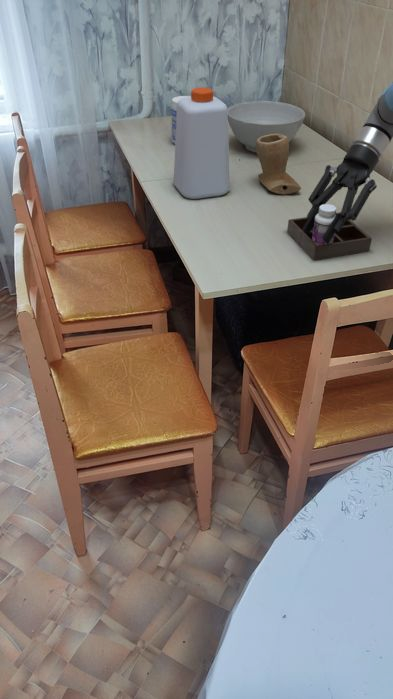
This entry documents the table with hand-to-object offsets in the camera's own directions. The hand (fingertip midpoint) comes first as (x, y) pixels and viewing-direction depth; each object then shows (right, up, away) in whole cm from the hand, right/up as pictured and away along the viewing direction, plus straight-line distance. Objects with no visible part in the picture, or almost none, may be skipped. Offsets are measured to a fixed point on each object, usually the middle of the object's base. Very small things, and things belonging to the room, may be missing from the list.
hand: (314, 236), depth 131 cm
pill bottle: (+3, -1, +4) cm, 5 cm away
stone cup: (-5, +23, +36) cm, 42 cm away
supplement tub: (-33, +48, +66) cm, 88 cm away
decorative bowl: (-5, +45, +62) cm, 77 cm away
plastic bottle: (-27, +21, +34) cm, 49 cm away
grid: (+5, +1, +9) cm, 10 cm away
